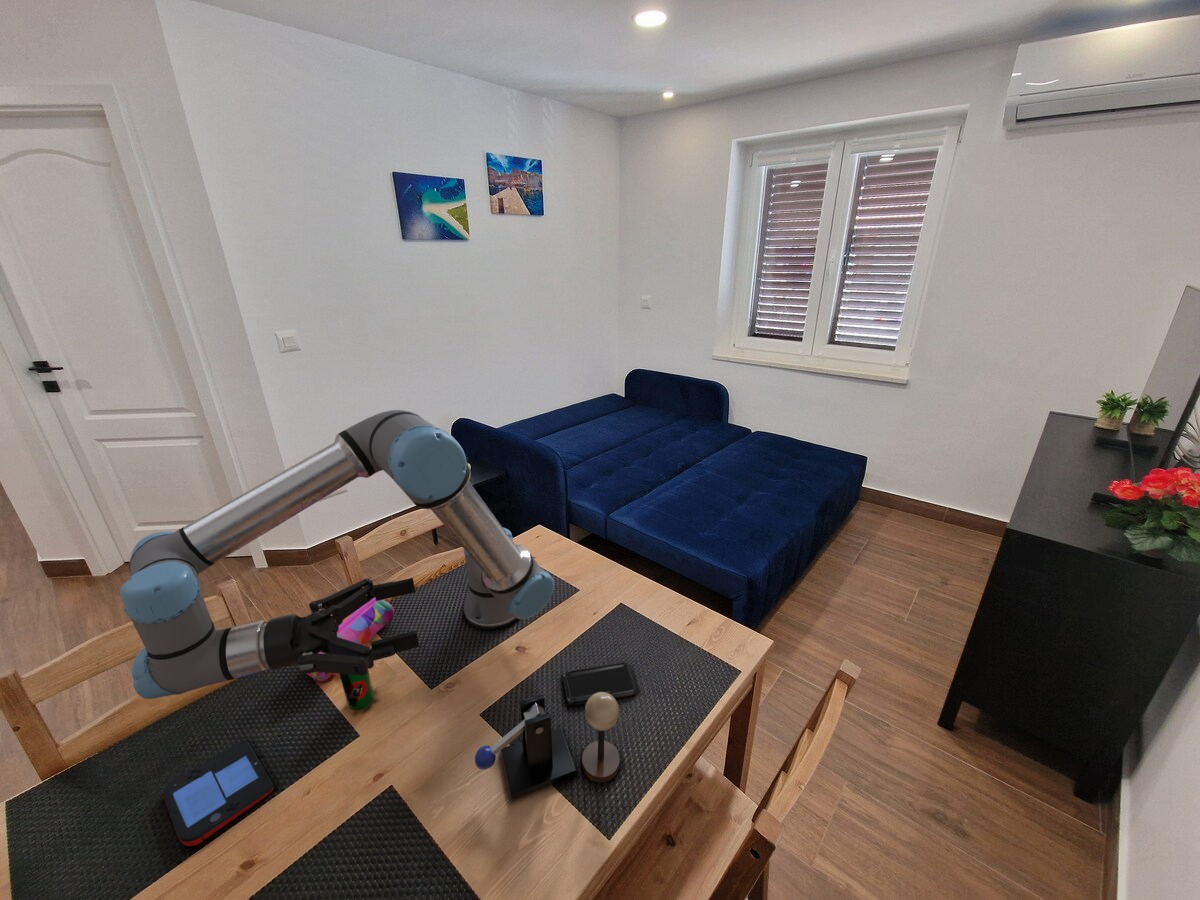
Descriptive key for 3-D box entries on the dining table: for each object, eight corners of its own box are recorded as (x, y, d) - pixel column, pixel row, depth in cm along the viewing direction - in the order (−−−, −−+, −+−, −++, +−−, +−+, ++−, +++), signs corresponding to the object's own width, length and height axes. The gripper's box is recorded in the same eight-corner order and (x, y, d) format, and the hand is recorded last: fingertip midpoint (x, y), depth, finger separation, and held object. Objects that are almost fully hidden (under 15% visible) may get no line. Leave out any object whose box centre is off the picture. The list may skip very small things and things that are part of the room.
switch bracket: (510, 800, 84) (505, 743, 78) (500, 753, 92) (495, 698, 86) (576, 775, 88) (575, 719, 82) (561, 732, 96) (560, 678, 90)
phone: (562, 672, 108) (627, 661, 111) (562, 676, 108) (627, 665, 111) (567, 703, 100) (637, 690, 103) (568, 707, 101) (637, 694, 104)
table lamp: (576, 752, 92) (576, 688, 85) (610, 740, 95) (612, 677, 88) (589, 788, 86) (590, 722, 79) (625, 774, 89) (629, 709, 82)
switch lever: (485, 777, 83) (471, 770, 82) (481, 758, 86) (468, 751, 85) (550, 723, 84) (538, 715, 82) (544, 706, 87) (532, 698, 85)
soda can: (380, 697, 103) (370, 654, 98) (360, 716, 98) (348, 673, 94) (363, 688, 104) (352, 646, 100) (342, 706, 100) (330, 664, 95)
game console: (276, 791, 85) (273, 783, 84) (186, 857, 76) (181, 848, 75) (247, 741, 93) (244, 733, 92) (163, 794, 84) (158, 786, 83)
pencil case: (328, 692, 103) (319, 661, 100) (295, 679, 106) (285, 648, 103) (400, 623, 122) (394, 594, 119) (370, 613, 125) (364, 585, 121)
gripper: (289, 610, 86) (415, 582, 94) (257, 732, 65) (423, 684, 72) (278, 575, 83) (410, 550, 91) (241, 692, 62) (416, 646, 69)
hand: (416, 609), depth 82 cm, fingers open, 13 cm apart
